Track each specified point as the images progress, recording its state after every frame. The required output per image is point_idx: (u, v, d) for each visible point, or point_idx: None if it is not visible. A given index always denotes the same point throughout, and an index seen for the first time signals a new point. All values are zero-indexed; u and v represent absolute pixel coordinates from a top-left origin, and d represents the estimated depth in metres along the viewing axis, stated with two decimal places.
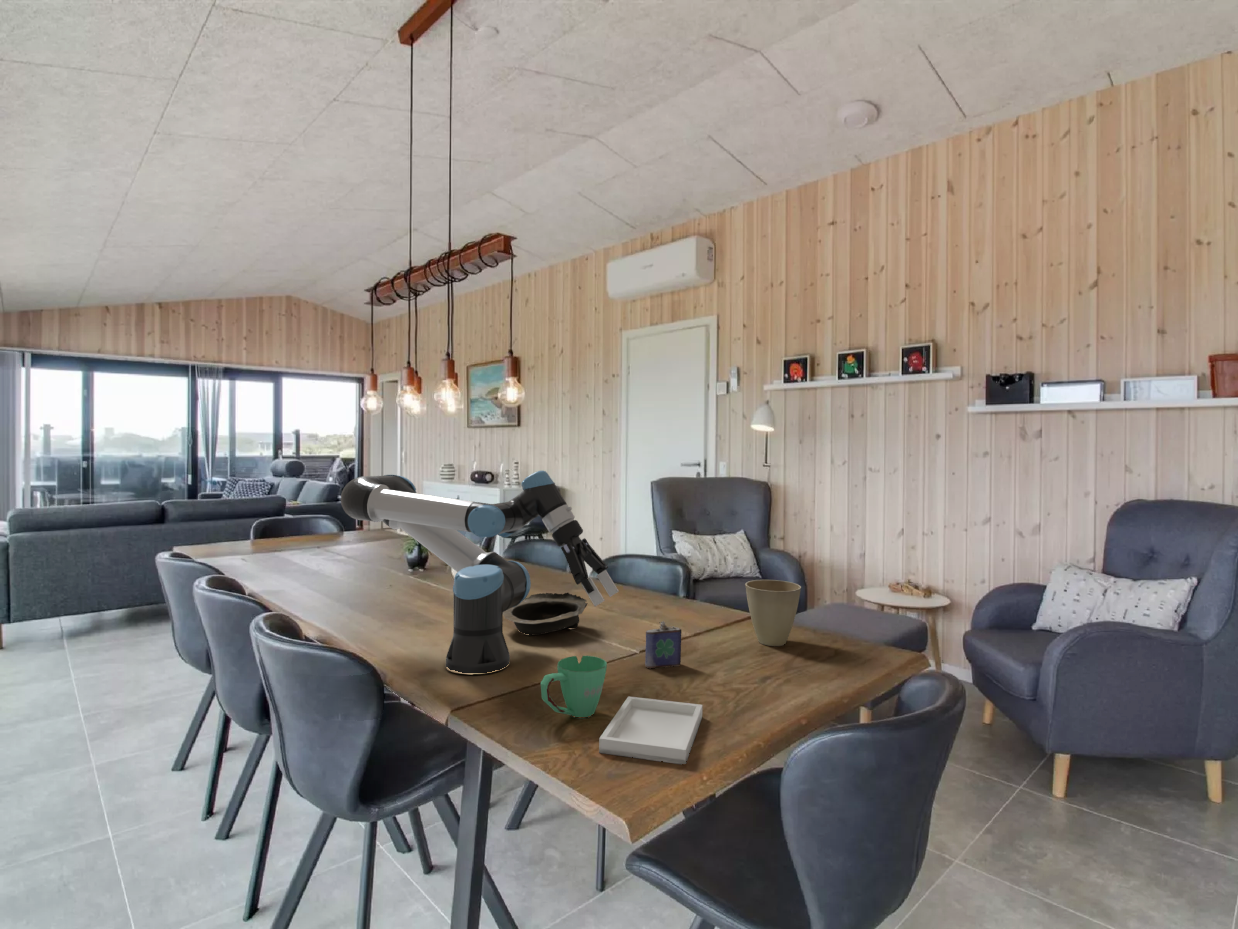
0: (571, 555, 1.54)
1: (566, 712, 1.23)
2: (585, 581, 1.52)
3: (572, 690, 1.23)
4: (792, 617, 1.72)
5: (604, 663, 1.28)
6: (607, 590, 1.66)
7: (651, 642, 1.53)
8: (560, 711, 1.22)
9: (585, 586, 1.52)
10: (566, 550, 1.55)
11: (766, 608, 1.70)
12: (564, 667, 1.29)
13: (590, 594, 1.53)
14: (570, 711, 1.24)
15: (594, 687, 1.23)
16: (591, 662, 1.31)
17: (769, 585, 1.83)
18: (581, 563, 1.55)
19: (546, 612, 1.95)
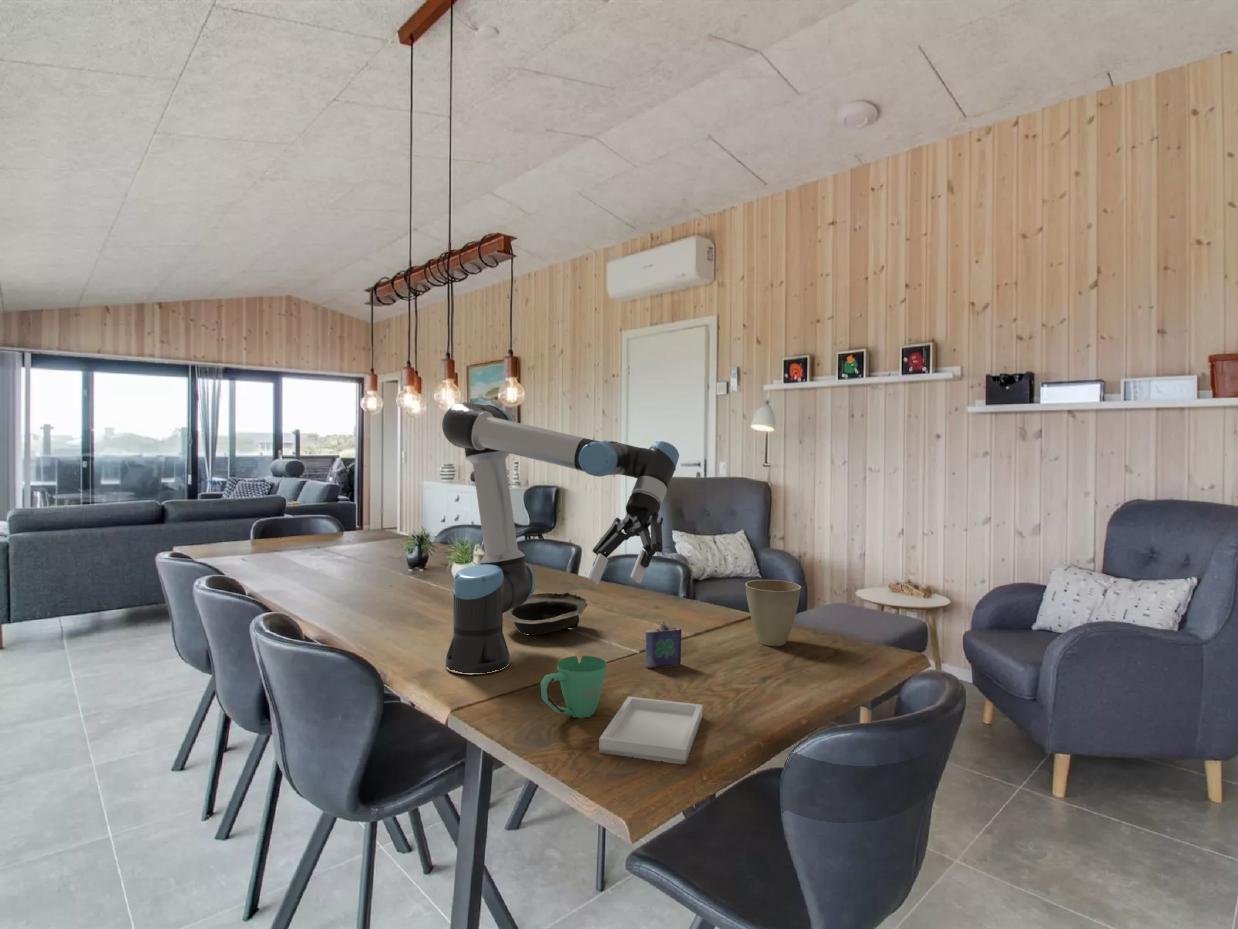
0: (659, 527, 1.39)
1: (566, 712, 1.23)
2: (651, 554, 1.35)
3: (572, 690, 1.23)
4: (792, 617, 1.72)
5: (604, 663, 1.28)
6: (594, 572, 1.43)
7: (651, 642, 1.53)
8: (560, 711, 1.22)
9: (647, 557, 1.34)
10: (658, 519, 1.40)
11: (766, 608, 1.70)
12: (564, 667, 1.29)
13: (639, 565, 1.34)
14: (570, 711, 1.24)
15: (594, 687, 1.23)
16: (591, 662, 1.31)
17: (769, 585, 1.83)
18: (650, 540, 1.39)
19: (546, 612, 1.95)
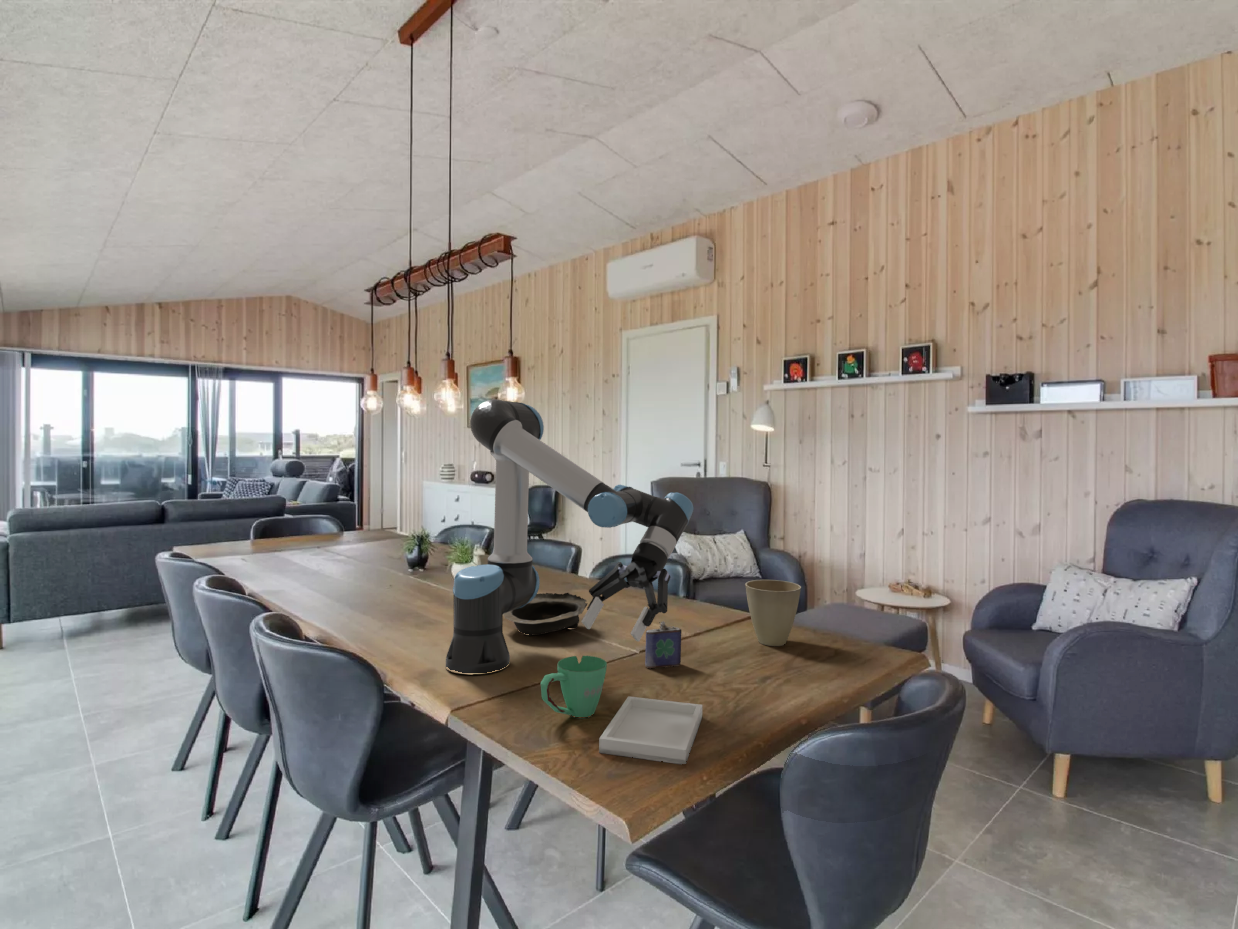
0: (666, 585, 1.35)
1: (566, 712, 1.23)
2: (654, 614, 1.31)
3: (572, 690, 1.23)
4: (792, 617, 1.72)
5: (604, 663, 1.28)
6: (588, 616, 1.37)
7: (651, 642, 1.53)
8: (560, 711, 1.22)
9: (651, 616, 1.30)
10: (666, 577, 1.36)
11: (766, 608, 1.70)
12: (564, 667, 1.29)
13: (641, 623, 1.29)
14: (570, 711, 1.24)
15: (594, 687, 1.23)
16: (591, 662, 1.31)
17: (769, 585, 1.83)
18: (654, 596, 1.35)
19: (546, 612, 1.95)
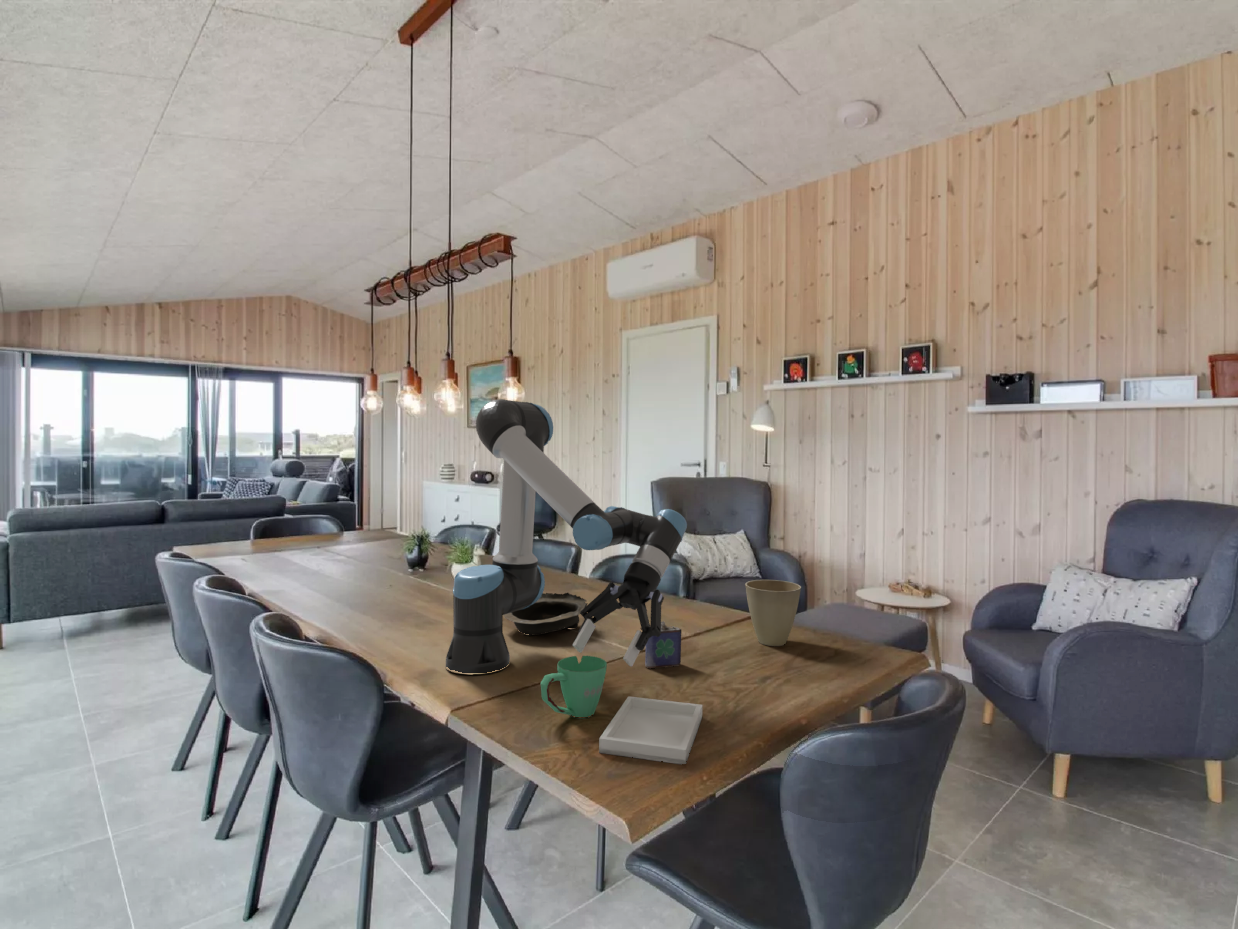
0: (659, 607, 1.31)
1: (566, 712, 1.23)
2: (648, 637, 1.27)
3: (572, 690, 1.23)
4: (792, 617, 1.72)
5: (604, 663, 1.28)
6: (580, 639, 1.34)
7: (651, 642, 1.53)
8: (560, 711, 1.22)
9: (644, 640, 1.26)
10: (659, 598, 1.32)
11: (766, 608, 1.70)
12: (564, 667, 1.29)
13: (634, 647, 1.26)
14: (570, 711, 1.24)
15: (594, 687, 1.23)
16: (591, 662, 1.31)
17: (769, 585, 1.83)
18: (647, 619, 1.31)
19: (546, 612, 1.95)
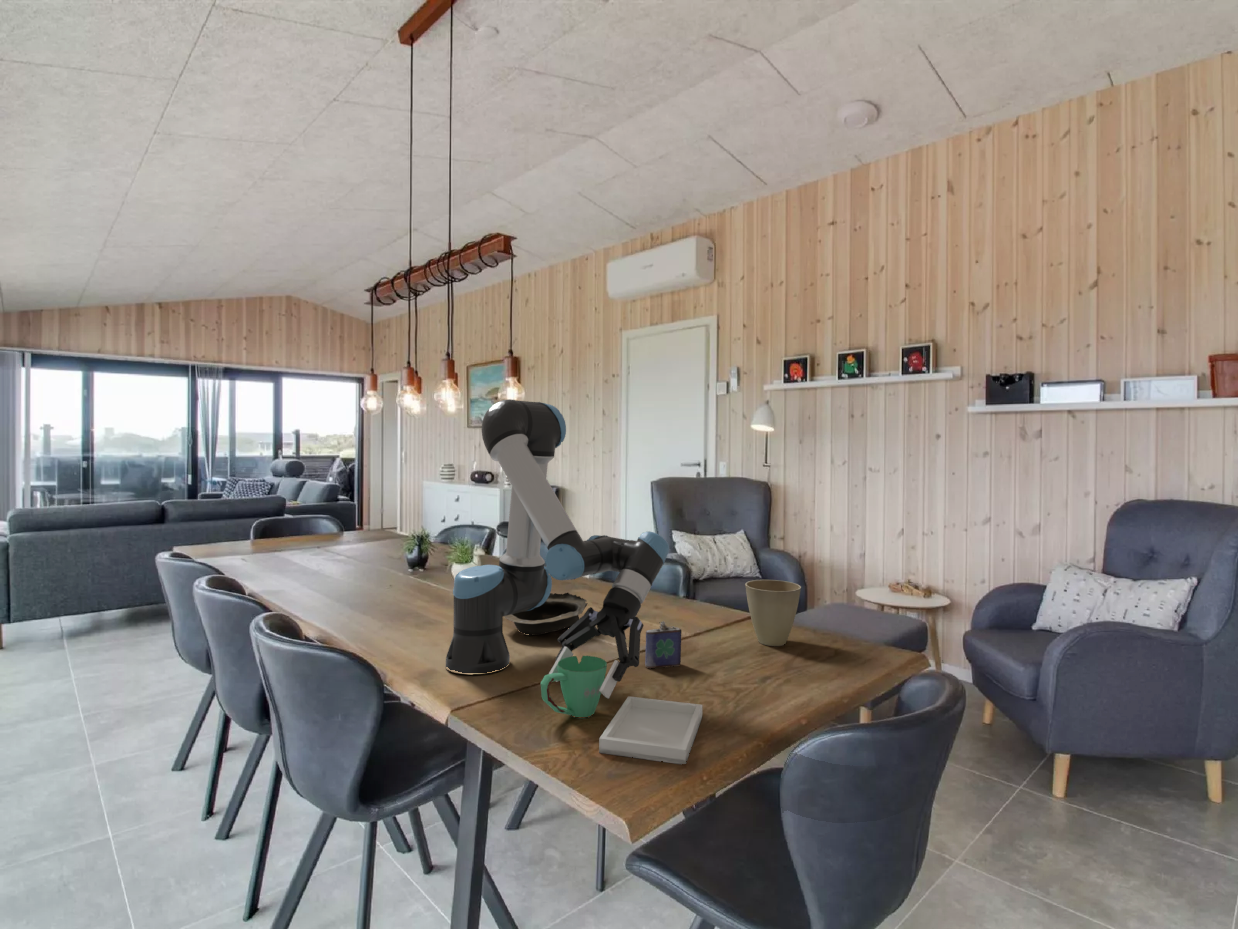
0: (638, 635, 1.27)
1: (566, 712, 1.23)
2: (625, 668, 1.23)
3: (572, 690, 1.23)
4: (792, 617, 1.72)
5: (604, 663, 1.28)
6: (556, 668, 1.29)
7: (651, 642, 1.53)
8: (560, 711, 1.22)
9: (621, 670, 1.22)
10: (638, 626, 1.28)
11: (766, 608, 1.70)
12: (564, 667, 1.29)
13: (611, 678, 1.21)
14: (570, 711, 1.24)
15: (594, 687, 1.23)
16: (591, 662, 1.31)
17: (769, 585, 1.83)
18: (626, 647, 1.27)
19: (546, 612, 1.95)
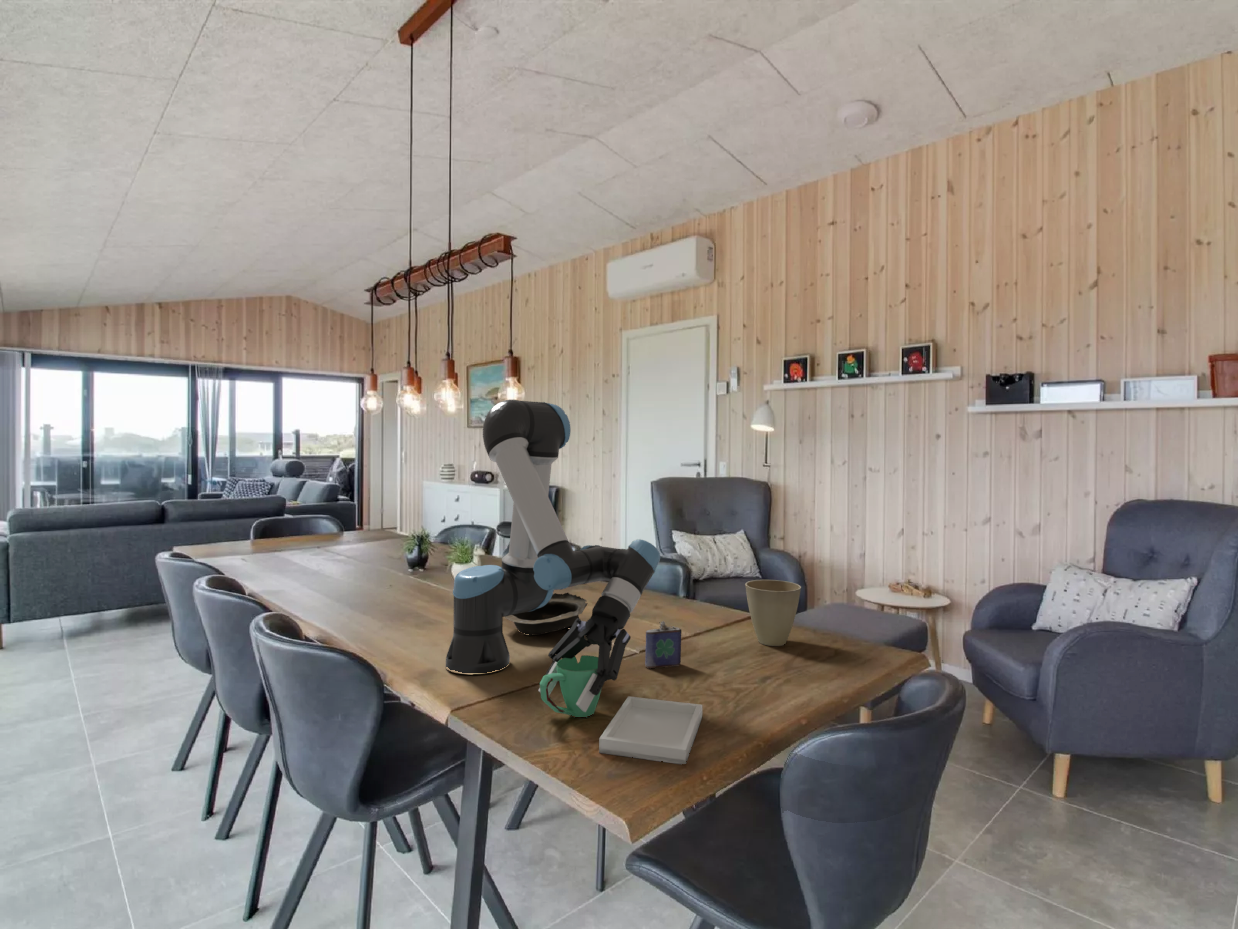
0: (622, 648, 1.25)
1: (566, 712, 1.23)
2: (603, 681, 1.22)
3: (572, 690, 1.23)
4: (792, 617, 1.72)
5: None
6: None
7: (651, 642, 1.53)
8: (560, 711, 1.22)
9: (599, 684, 1.21)
10: (624, 638, 1.26)
11: (766, 608, 1.70)
12: (563, 667, 1.29)
13: (588, 692, 1.20)
14: (570, 711, 1.24)
15: None
16: (590, 662, 1.31)
17: (769, 585, 1.83)
18: (608, 659, 1.26)
19: (546, 612, 1.95)
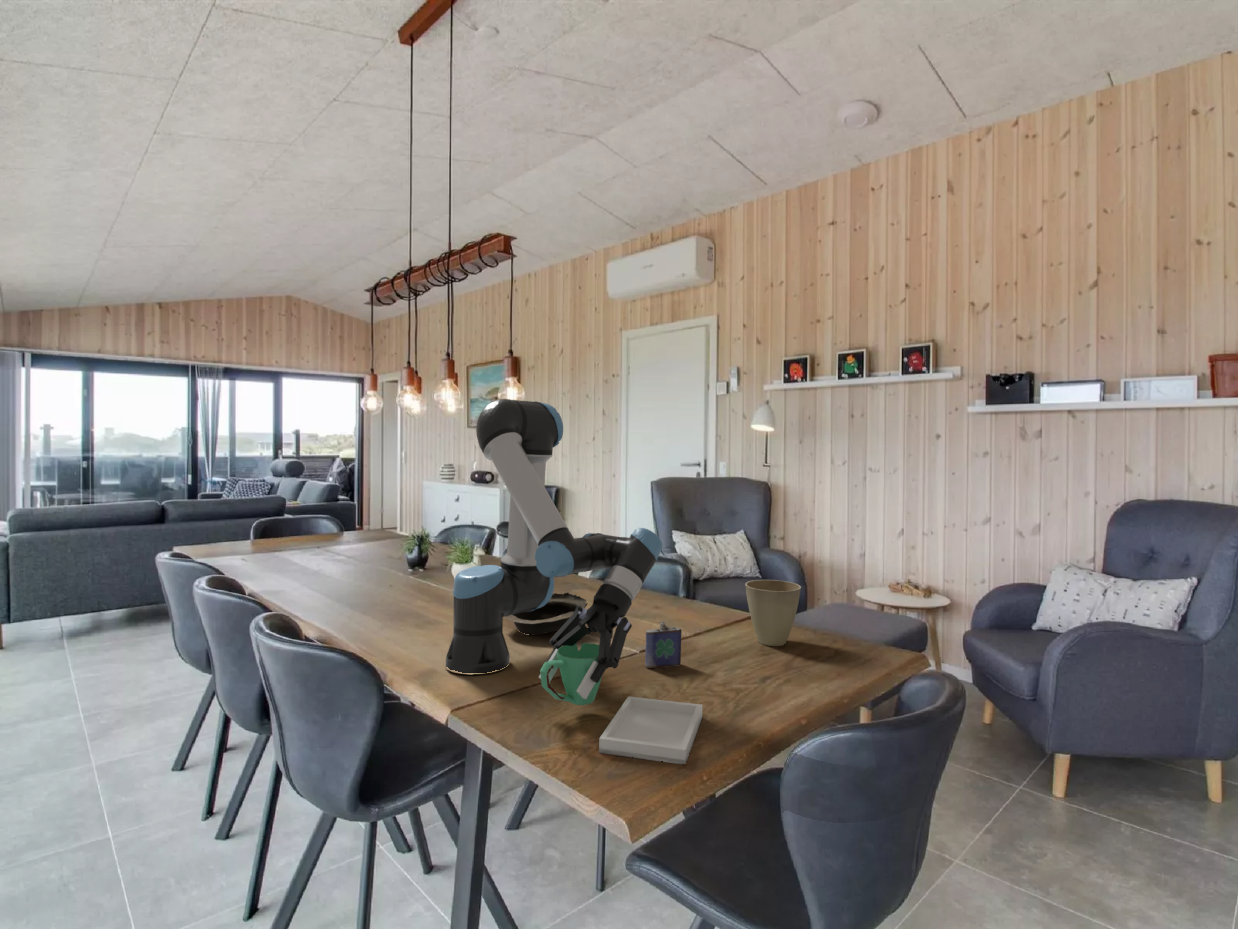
0: (623, 636, 1.25)
1: (566, 699, 1.23)
2: (604, 669, 1.22)
3: (572, 677, 1.23)
4: (792, 617, 1.72)
5: None
6: None
7: (651, 642, 1.53)
8: (560, 698, 1.22)
9: (600, 671, 1.21)
10: (625, 626, 1.26)
11: (766, 608, 1.70)
12: (564, 654, 1.29)
13: (588, 679, 1.20)
14: (570, 698, 1.24)
15: None
16: (590, 649, 1.31)
17: (769, 585, 1.83)
18: (609, 647, 1.25)
19: (546, 612, 1.95)
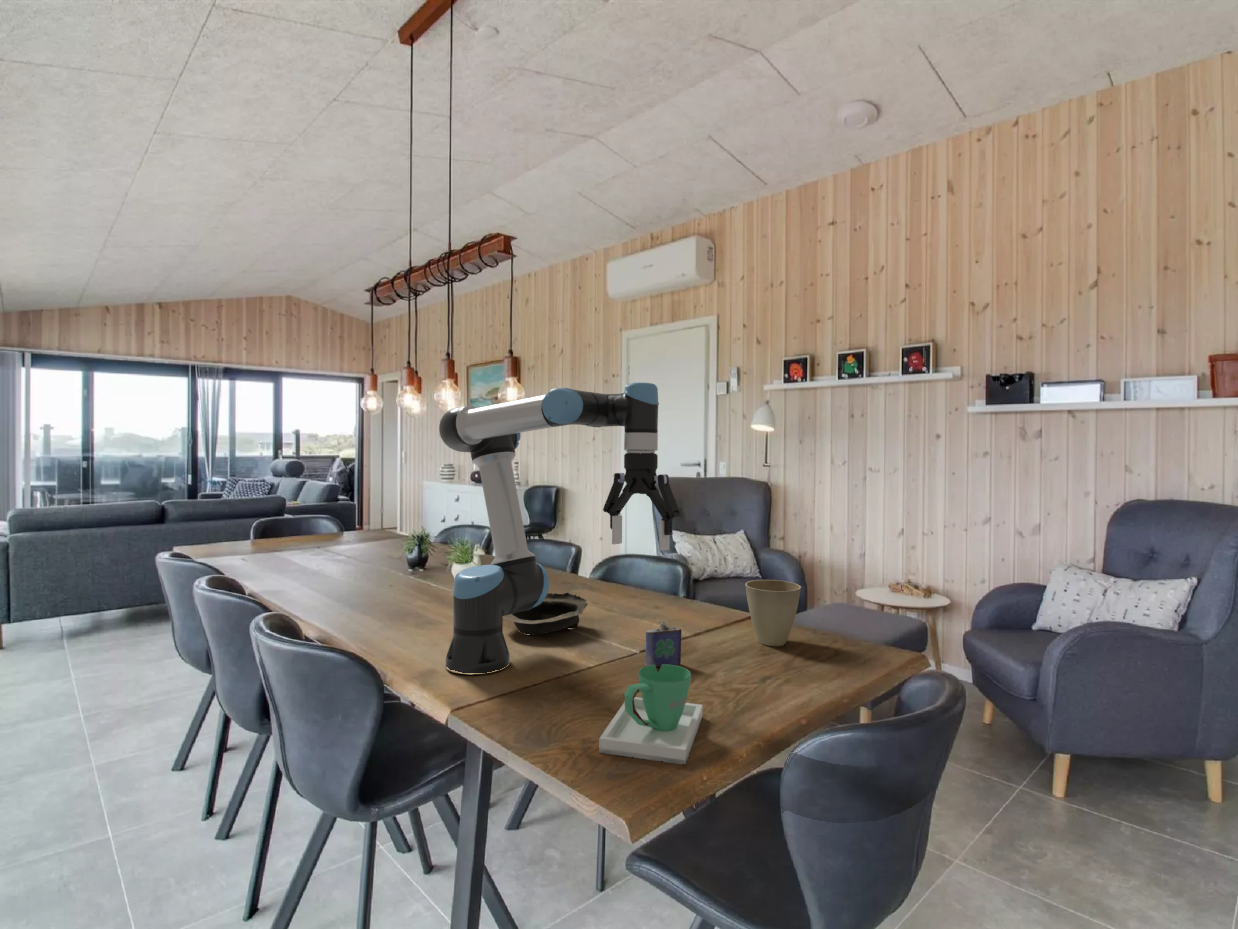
0: (668, 489, 1.39)
1: (650, 725, 1.15)
2: (671, 521, 1.38)
3: (657, 702, 1.15)
4: (792, 617, 1.72)
5: (686, 672, 1.21)
6: (615, 536, 1.47)
7: (651, 642, 1.53)
8: (645, 724, 1.14)
9: (669, 526, 1.38)
10: (664, 481, 1.39)
11: (766, 608, 1.70)
12: (643, 677, 1.22)
13: (664, 536, 1.38)
14: (654, 724, 1.16)
15: (680, 698, 1.16)
16: (670, 671, 1.23)
17: (769, 585, 1.83)
18: (663, 501, 1.40)
19: (546, 612, 1.95)
